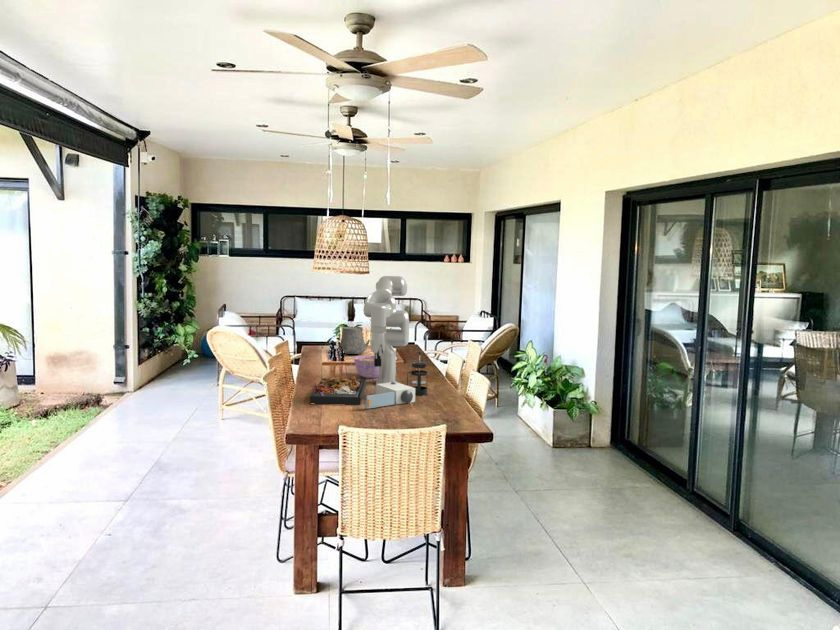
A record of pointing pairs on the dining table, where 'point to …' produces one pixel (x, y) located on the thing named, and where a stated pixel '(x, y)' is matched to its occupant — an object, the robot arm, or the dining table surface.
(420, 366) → the french press
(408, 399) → the grey box with knob
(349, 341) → the vessel
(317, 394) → the food platter
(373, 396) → the side door
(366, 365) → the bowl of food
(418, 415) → the dining table surface
